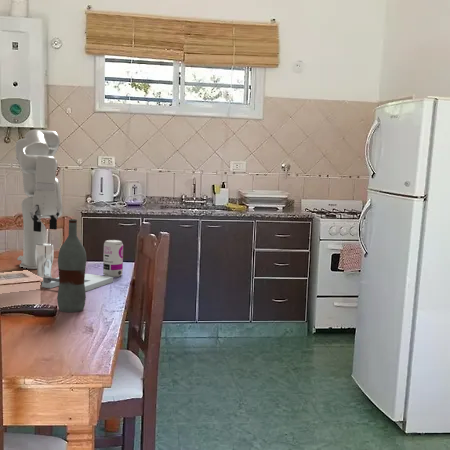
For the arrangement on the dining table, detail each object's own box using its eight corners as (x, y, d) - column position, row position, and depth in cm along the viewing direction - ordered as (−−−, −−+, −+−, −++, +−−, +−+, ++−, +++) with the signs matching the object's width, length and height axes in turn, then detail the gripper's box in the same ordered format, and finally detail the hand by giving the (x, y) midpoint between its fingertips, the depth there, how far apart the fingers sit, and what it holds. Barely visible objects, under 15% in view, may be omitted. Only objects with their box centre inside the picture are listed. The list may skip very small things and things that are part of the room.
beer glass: (47, 283, 220) (48, 246, 218) (31, 281, 221) (31, 244, 220) (56, 279, 227) (56, 243, 225) (40, 278, 228) (41, 242, 226)
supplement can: (124, 274, 244) (125, 240, 243) (119, 277, 236) (120, 243, 234) (106, 272, 245) (107, 239, 243) (100, 276, 237) (101, 241, 235)
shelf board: (41, 287, 213) (41, 277, 213) (76, 276, 234) (76, 267, 234) (80, 293, 207) (81, 282, 207) (113, 281, 228) (113, 272, 228)
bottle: (70, 314, 179) (72, 222, 176) (50, 309, 184) (51, 219, 180) (91, 308, 187) (93, 220, 184) (72, 303, 192) (73, 217, 188)
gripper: (51, 186, 229) (51, 227, 231) (23, 187, 213) (22, 231, 215) (67, 187, 227) (66, 229, 229) (39, 188, 211) (38, 233, 212)
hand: (45, 230), depth 222 cm, fingers open, 9 cm apart
